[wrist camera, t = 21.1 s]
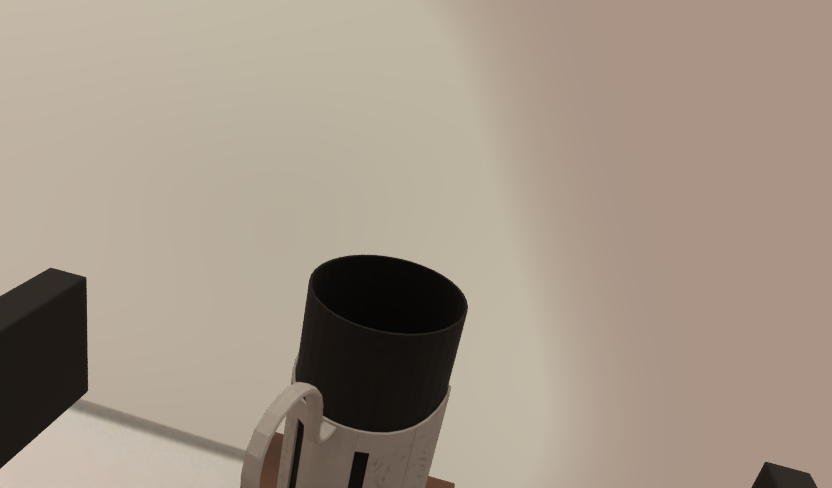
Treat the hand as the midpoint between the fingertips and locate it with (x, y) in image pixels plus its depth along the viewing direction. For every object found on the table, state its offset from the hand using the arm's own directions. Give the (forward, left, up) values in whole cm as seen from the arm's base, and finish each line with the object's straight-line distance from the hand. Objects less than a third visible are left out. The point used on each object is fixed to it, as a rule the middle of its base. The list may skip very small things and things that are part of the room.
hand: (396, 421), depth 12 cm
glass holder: (+13, -6, -21) cm, 25 cm away
